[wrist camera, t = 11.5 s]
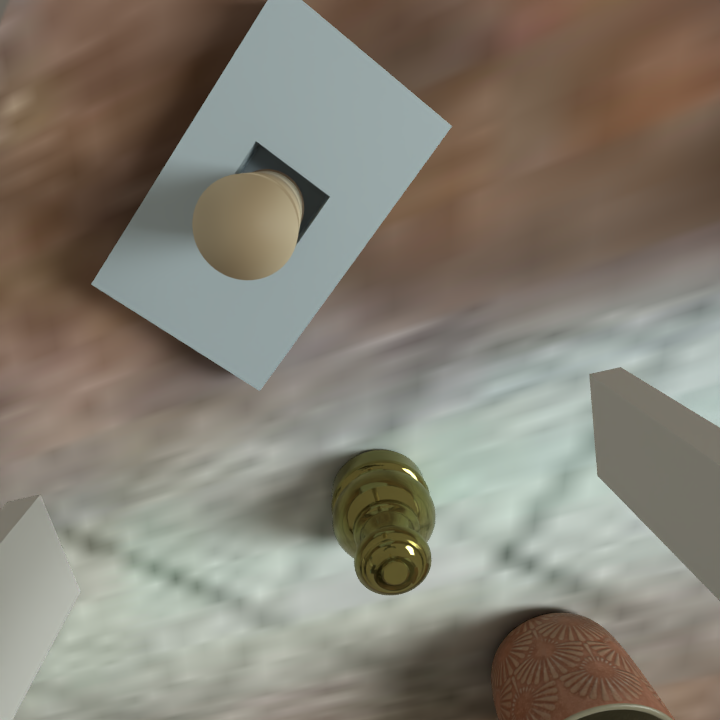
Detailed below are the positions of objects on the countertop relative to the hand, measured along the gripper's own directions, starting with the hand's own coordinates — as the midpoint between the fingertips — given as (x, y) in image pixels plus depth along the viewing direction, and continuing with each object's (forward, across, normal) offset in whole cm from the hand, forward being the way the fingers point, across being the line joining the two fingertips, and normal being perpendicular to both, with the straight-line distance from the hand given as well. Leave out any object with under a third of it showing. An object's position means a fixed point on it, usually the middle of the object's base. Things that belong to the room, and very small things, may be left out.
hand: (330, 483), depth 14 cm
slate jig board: (+28, -1, +6) cm, 29 cm away
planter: (+28, +13, -37) cm, 48 cm away
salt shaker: (+28, +1, -17) cm, 33 cm away
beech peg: (+27, -1, +6) cm, 28 cm away
